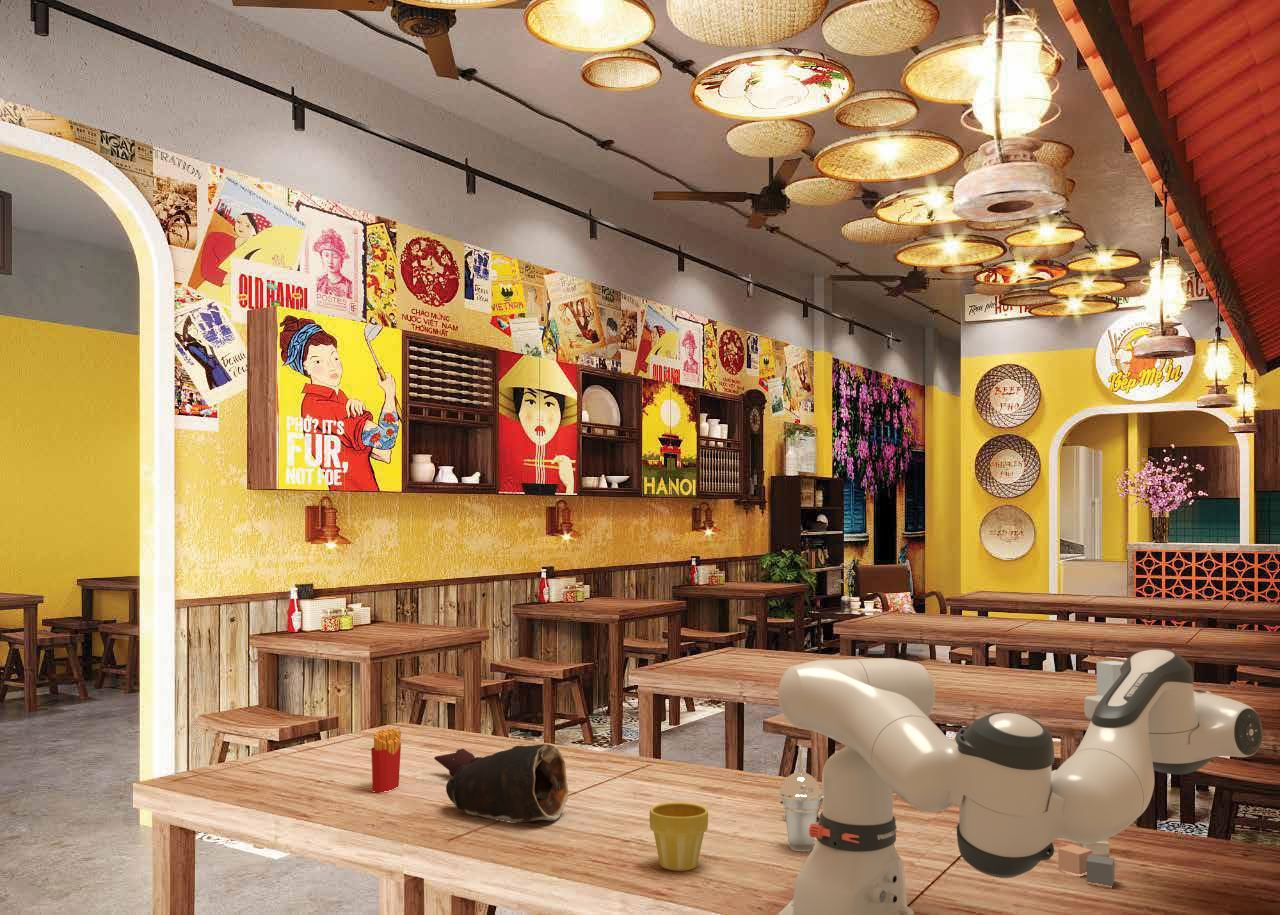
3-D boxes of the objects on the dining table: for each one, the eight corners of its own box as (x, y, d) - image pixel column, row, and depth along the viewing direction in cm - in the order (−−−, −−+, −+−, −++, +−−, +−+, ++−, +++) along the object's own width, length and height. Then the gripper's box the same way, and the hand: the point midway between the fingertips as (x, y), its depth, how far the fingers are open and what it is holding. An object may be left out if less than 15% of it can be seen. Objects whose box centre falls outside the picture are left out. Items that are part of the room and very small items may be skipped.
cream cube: (1109, 866, 189) (1109, 843, 190) (1086, 865, 190) (1085, 842, 190) (1103, 859, 193) (1102, 836, 194) (1080, 857, 194) (1079, 835, 194)
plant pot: (673, 851, 196) (673, 798, 197) (719, 863, 190) (719, 808, 190) (637, 866, 188) (637, 809, 189) (684, 879, 182) (684, 821, 182)
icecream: (423, 751, 250) (475, 763, 243) (443, 737, 256) (494, 749, 249) (425, 778, 251) (477, 791, 244) (445, 763, 258) (496, 776, 251)
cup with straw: (833, 847, 199) (832, 739, 200) (806, 858, 192) (806, 747, 193) (794, 838, 205) (794, 732, 206) (767, 848, 198) (767, 740, 199)
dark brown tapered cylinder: (458, 744, 232) (559, 731, 223) (473, 813, 232) (576, 803, 223) (421, 769, 218) (528, 756, 209) (438, 842, 218) (545, 832, 209)
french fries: (382, 794, 235) (383, 735, 236) (366, 792, 236) (367, 733, 237) (405, 784, 244) (406, 727, 244) (389, 783, 245) (390, 725, 246)
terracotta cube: (1079, 878, 183) (1079, 854, 184) (1058, 871, 187) (1058, 848, 187) (1092, 873, 186) (1092, 850, 186) (1071, 867, 189) (1071, 844, 189)
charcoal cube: (1112, 889, 178) (1112, 864, 178) (1086, 885, 180) (1086, 861, 180) (1114, 881, 181) (1114, 858, 182) (1089, 877, 183) (1088, 854, 184)
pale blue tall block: (1133, 756, 185) (1131, 664, 186) (1114, 758, 184) (1112, 664, 185) (1117, 751, 189) (1115, 661, 190) (1098, 753, 188) (1096, 661, 189)
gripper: (1118, 736, 172) (1061, 720, 185) (1220, 729, 177) (1158, 714, 191) (1117, 696, 172) (1061, 683, 185) (1219, 691, 178) (1157, 678, 191)
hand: (1111, 699), depth 188 cm, fingers closed on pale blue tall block, 4 cm apart
